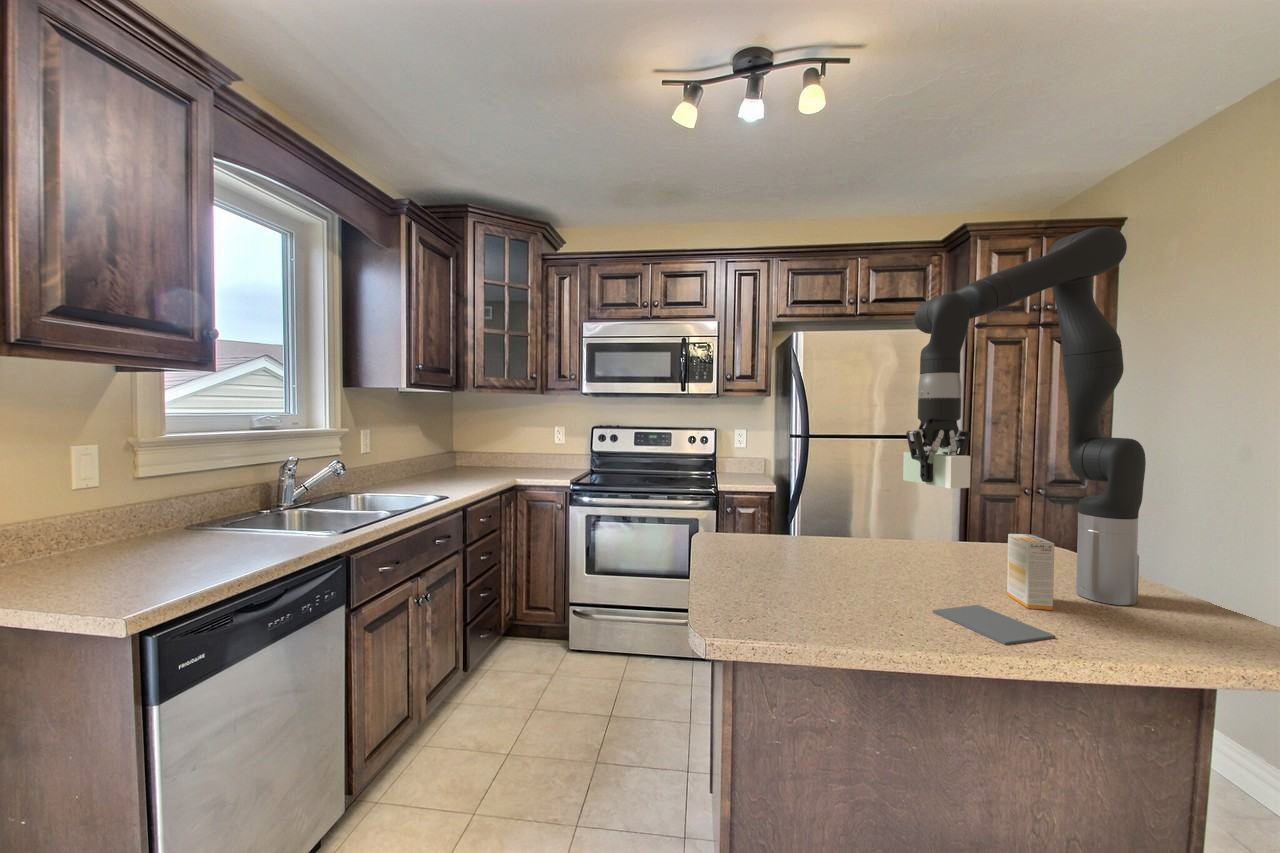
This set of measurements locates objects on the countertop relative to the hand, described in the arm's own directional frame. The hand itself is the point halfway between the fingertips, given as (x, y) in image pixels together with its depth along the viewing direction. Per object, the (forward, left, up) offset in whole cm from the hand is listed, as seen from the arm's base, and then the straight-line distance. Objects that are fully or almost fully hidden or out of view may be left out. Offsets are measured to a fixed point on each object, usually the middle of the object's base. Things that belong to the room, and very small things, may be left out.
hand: (937, 481), depth 104 cm
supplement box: (-18, +5, -24) cm, 31 cm away
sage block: (0, -7, +2) cm, 7 cm away
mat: (0, +12, -24) cm, 27 cm away
